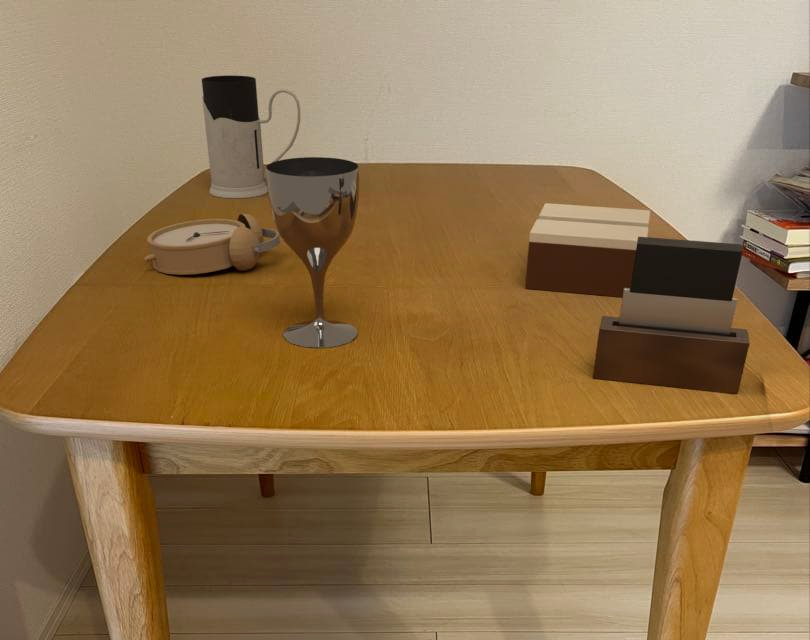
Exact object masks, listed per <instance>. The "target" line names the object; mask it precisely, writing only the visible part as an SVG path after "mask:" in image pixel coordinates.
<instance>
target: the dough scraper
mask: <svg viewBox="0 0 810 640" xmlns="http://www.w3.org/2000/svg"><path fill="white" fill-rule="evenodd" d="M743 252H744V251H743V247H742V244H741V243H730V242H718V241H717V242H715V241H703V240H702V241H701V240H689V239H675V238H663V237H662V238H661V237H650V236H648V237H638V240H637V247H636V254H635V260H634V267H633V273H632V280H631V286H630V288H624V291H623V297H621V298H622V299H621V305H620V312H619V317H620V318H619V325H618V326H621V327H632V328H642V329H652V330H663V331H673V332H684V333H694V334H705V335H715V336H725V337H729V336H730V332H731V328H733V327H732V326H733V322H734V318H735V314H736V309H737V304H738V301H739V299H738V297H736V296H735V297H734V293H735V288H736V284H737V279H738V275H739V270H740V267H741V261H742V257H743Z"/></svg>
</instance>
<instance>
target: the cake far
mask: <svg viewBox="0 0 810 640" xmlns="http://www.w3.org/2000/svg"><path fill="white" fill-rule="evenodd" d="M650 218H651V209H650V210H649V209H638V208H637V209H635V208H622V207H621V208H619V207H606V206H593V205H592V206H590V205H577V204H562V203H547V202H545V203H544V205H543V207H542V209H541V210H540V212H539V215H538V219H543V220H557V221H571V222H584V223H598V224H612V225H625V226H639V227H649V226H650V221H651V219H650Z"/></svg>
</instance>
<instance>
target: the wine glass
mask: <svg viewBox="0 0 810 640" xmlns="http://www.w3.org/2000/svg"><path fill="white" fill-rule="evenodd" d="M265 167H266V168H265V170H266V186H267V187H268V192H267V194H268V201H269V206H270V211H271V215H272V218H273V221H274V225H275V227H276V231H277V232H278V233H279V237H281V239H282V240H283V242H284V243H285V244H286V246H288V247H289V248H290V249H291V251H292V252H293V253H294V254H295V255H296V256H297V257H298V258H299V259H300V260H301V262H302V264H304V266H305V268H306V269H307V272H308V274H309V277H310V280H311V286H312V290H313V297H314V299H313V300H314V309H315V311H314V314H315V317H314V319H312V320H305V321H301V322H300V321H299V322H297V323H293V324H292V325H290V326H288V327H287V328H286V329H284V332H282V333H283V334H282V337H283V339H284V340H285V341H286V342H288V343H289V344H292V345H294V344H295V346H298V345H299V346H298V347H302V348H310V347H311V348H313V349H323V348H333V347H340V346H344V345H346V344H349V343H351V342H352V341H354V340H355V339H357V337H358V335H359V332H358V329H357V328H356V327H355V326H353V324H350V323H347V322H345V321H340V320H334V319H333V320H332V319H326V318H325V312H324V291H325V279H326V274H327V272H328V269H329V266H330V264H331V263H332V262H333V260H334V258H335V257H336V256H337V255H338V253H339V252H340V250H341V249H342V248H343V247H344V246H345V244H347V242H348V240H349V239H350V238H351V236H352V234H353V230H354V228H355V224H356V219H357V213H358V208H359V207H358V206H359V200H360V199H359V198H360V174H359V173H360V172H359V171H360V169H359V165H358V163H356V162H354V161H352V160H349V159H343V158H336V157H322V156H320V157H319V156H318V157H317V156H305V157H294V158H293V157H292V158H285V159H279V160H278V161H275V162H273V161H272V162H270V163H269V164H267V165H266V166H265Z"/></svg>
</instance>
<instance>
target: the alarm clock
mask: <svg viewBox="0 0 810 640" xmlns="http://www.w3.org/2000/svg"><path fill="white" fill-rule="evenodd" d="M264 237H265V238H270V239H269V240H266V241H264ZM146 238H147V239H146V243H147V245H148V249H149V253H150V254H148V255H146V256H145V257H143V261H144V262H151V261H152V268H153V269H154V270H155V271H157V272H159V273H163V274H166V275H167V274H168V275H179V276H180V275H181V276H182V275H197V274H198V275H199V274H206V273H212V272H216V271H221V270H226V269H229V268H231V267H235V268H236V270H238V271H240V272H242V271H248V270H251V269H253V268H254V267H255V266H256V265H257V263H258V262H259V259H260V256H261V253H263V252H266V251H270V250H272V249H275V248H276V247H278V246H279V245H280V243H281V240H280V235H279V233H278V230H275V229H271V228H265V227H262V226H261V224H260V222H259V221H258V219H257V218H255V217H254V216H253V215H252V214H249V213H240V214H239V215H238V218H237V220H236V219H231V218H230V219H229V218H206V219H203V218H202V219H195V220H188V221H184V222H178V223H174V224H170V225H167V226H164V227H161V228H159V229H157V230H155V231H152V232H151V233H150V234H148V236H147V237H146Z"/></svg>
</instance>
